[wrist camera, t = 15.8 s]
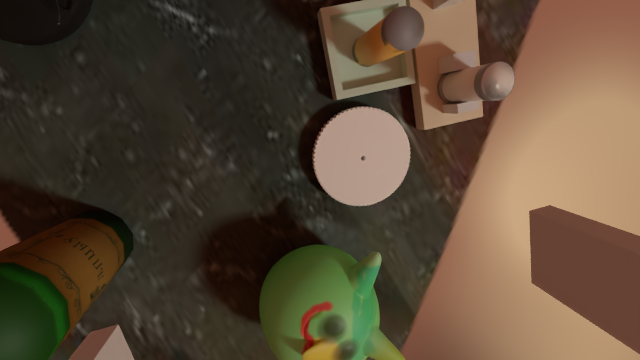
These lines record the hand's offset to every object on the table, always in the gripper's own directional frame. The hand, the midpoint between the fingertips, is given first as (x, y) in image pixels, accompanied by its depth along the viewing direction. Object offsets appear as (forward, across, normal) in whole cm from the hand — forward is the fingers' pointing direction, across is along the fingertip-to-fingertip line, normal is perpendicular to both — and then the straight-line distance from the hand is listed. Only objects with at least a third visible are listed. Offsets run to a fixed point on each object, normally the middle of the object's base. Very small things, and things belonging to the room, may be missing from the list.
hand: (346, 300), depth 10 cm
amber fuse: (+34, +14, +11) cm, 38 cm away
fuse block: (+35, +24, +11) cm, 44 cm away
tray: (+35, +14, +11) cm, 39 cm away
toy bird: (+35, 0, -21) cm, 41 cm away
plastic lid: (+35, +10, -3) cm, 37 cm away
